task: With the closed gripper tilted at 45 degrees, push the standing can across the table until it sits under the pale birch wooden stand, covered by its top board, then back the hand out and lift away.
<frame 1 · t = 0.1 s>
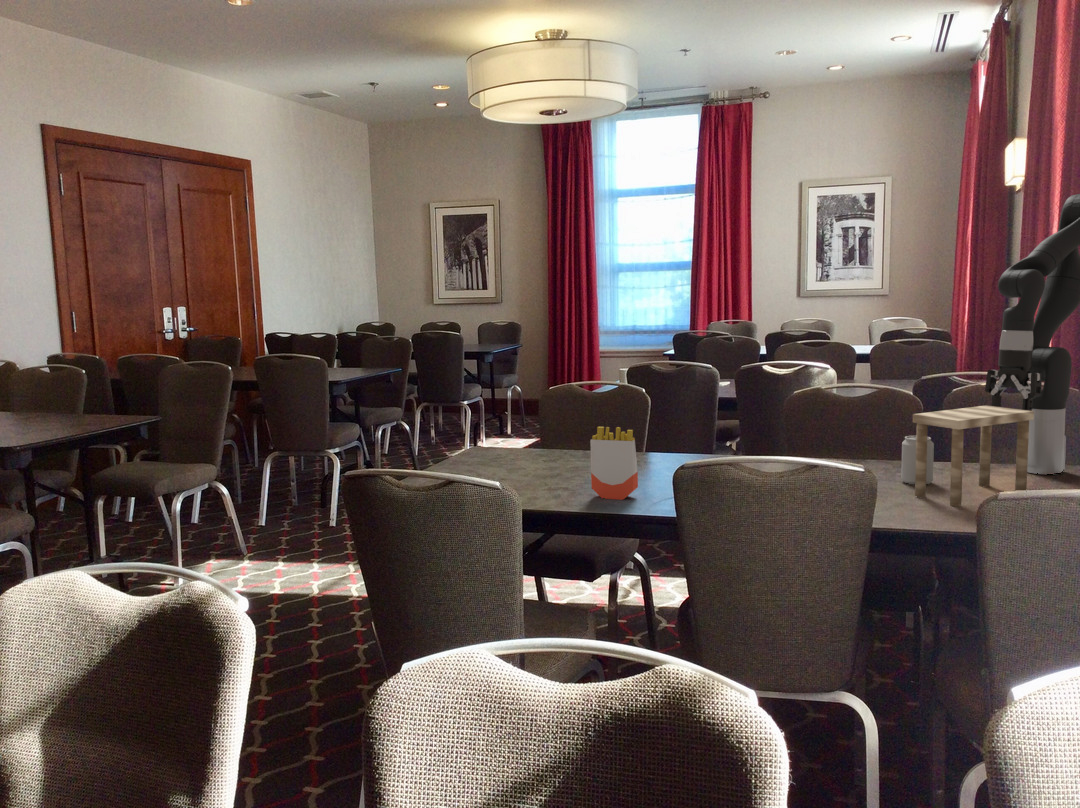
hand: (1010, 411, 226), 17 cm above the table, tool pointing down, fingers open, 8 cm apart
french fries container: (615, 497, 221), on the table
stand: (970, 495, 211), on the table
can: (916, 483, 226), on the table
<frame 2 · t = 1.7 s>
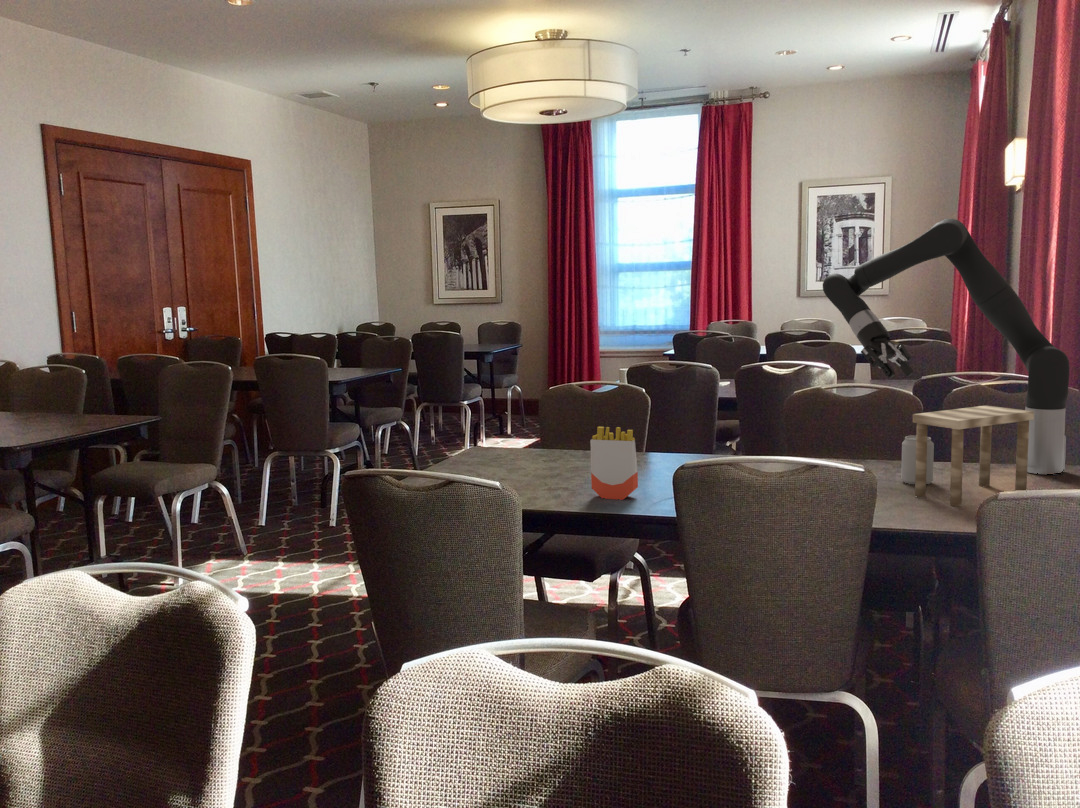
hand: (901, 375, 236), 26 cm above the table, tool tilted 45°, fingers open, 6 cm apart
nothing on the table moved.
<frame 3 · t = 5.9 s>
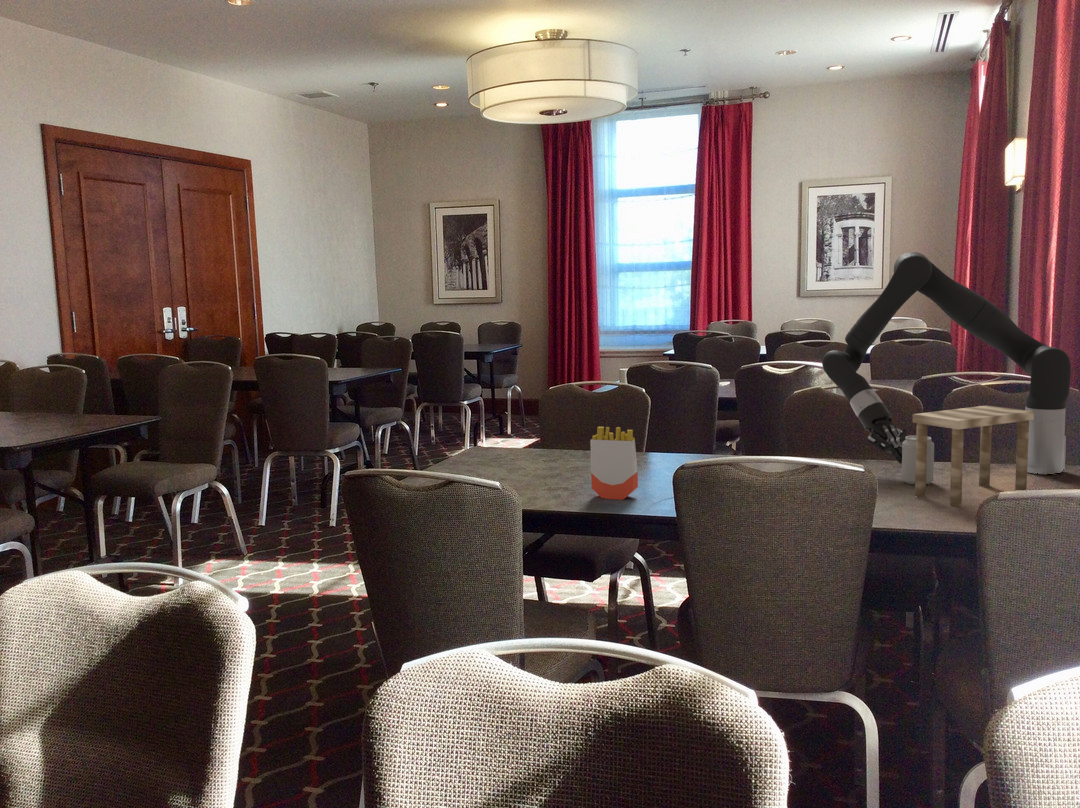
hand: (904, 461, 229), 5 cm above the table, tool tilted 45°, fingers closed
can: (917, 483, 226), on the table, touching gripper
everything else where it was.
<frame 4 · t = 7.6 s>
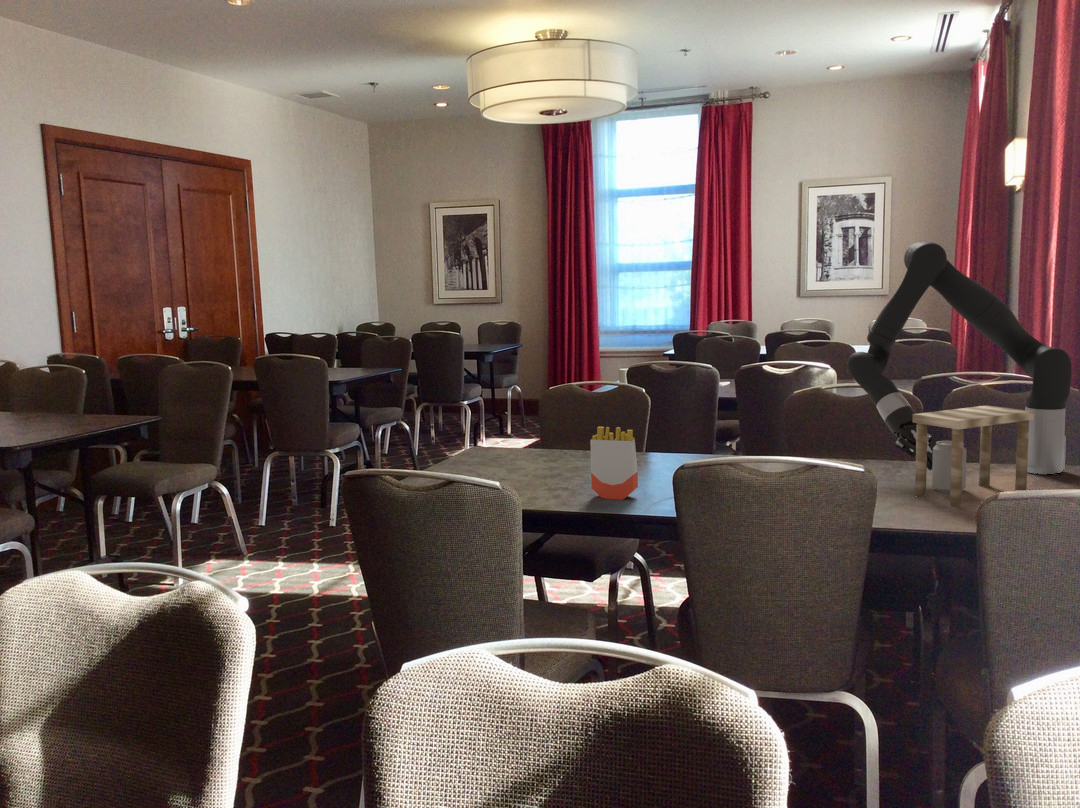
hand: (934, 468, 220), 5 cm above the table, tool tilted 45°, fingers closed
can: (948, 490, 217), on the table, touching gripper
everything else where it was.
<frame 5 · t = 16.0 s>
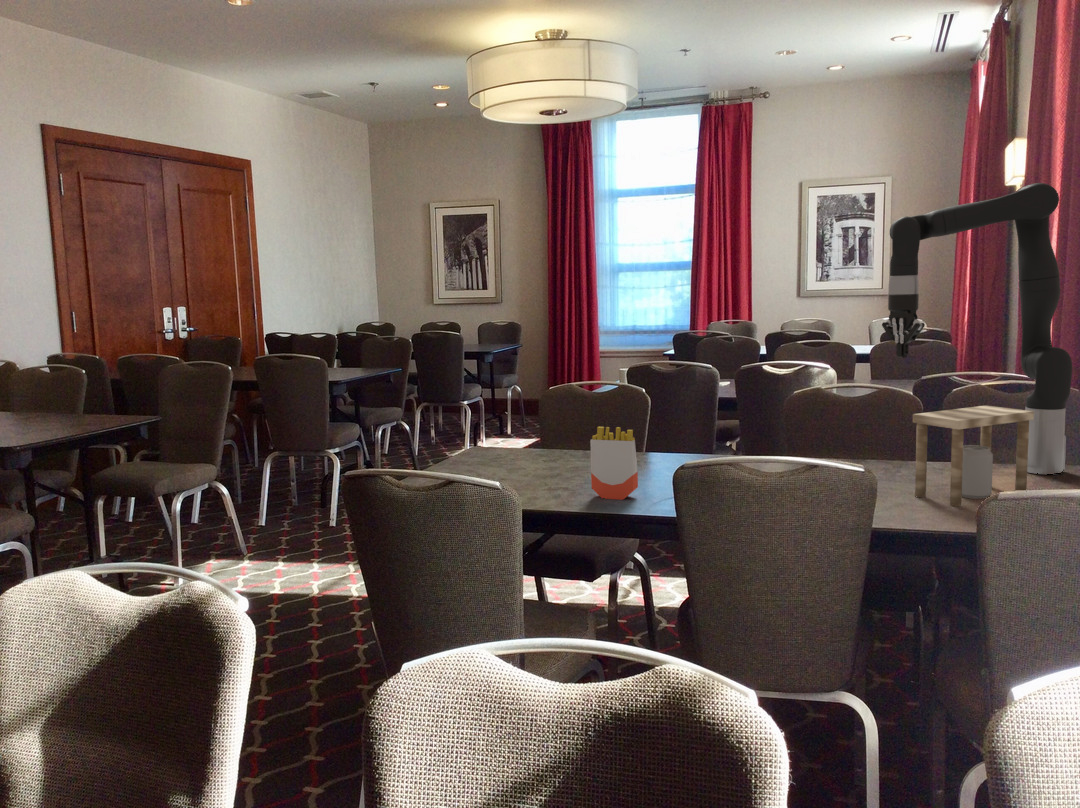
hand: (902, 357, 238), 31 cm above the table, tool pointing down, fingers closed
can: (974, 496, 211), on the table
everything else where it was.
at the end: can inside the target area (0.7 cm from its centre), on the table; can tilted 0°; the gripper is holding nothing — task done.
